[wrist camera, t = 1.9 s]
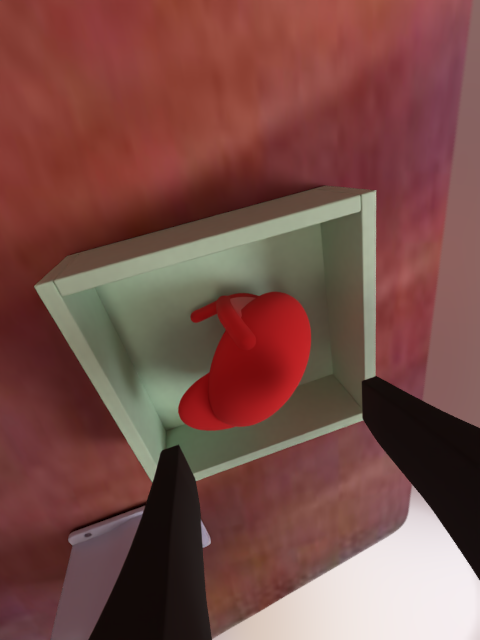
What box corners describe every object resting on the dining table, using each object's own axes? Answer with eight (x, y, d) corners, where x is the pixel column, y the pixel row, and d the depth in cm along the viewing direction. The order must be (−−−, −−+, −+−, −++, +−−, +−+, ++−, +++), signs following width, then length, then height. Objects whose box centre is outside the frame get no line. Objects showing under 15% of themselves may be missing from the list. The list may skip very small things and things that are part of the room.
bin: (159, 436, 21) (158, 494, 17) (66, 256, 15) (32, 286, 11) (339, 374, 23) (375, 416, 19) (325, 185, 16) (376, 189, 12)
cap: (240, 249, 16) (277, 286, 11) (308, 308, 19) (364, 361, 14) (151, 354, 18) (147, 430, 13) (226, 395, 20) (249, 472, 15)
